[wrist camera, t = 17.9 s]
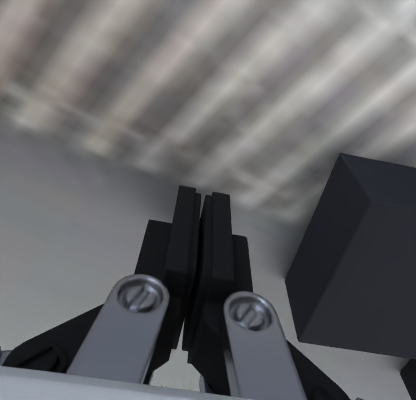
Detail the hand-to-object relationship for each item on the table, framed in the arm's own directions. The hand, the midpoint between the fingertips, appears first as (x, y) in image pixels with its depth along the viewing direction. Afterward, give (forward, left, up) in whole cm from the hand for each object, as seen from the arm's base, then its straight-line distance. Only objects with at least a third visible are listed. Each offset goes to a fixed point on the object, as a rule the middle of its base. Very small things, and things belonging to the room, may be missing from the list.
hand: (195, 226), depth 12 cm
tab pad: (0, +10, -1) cm, 10 cm away
